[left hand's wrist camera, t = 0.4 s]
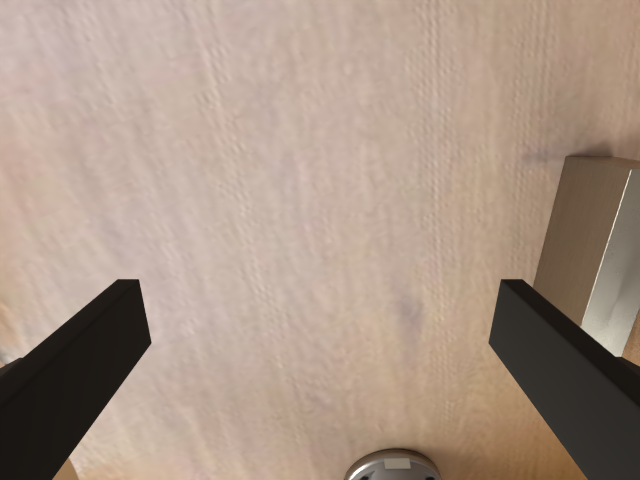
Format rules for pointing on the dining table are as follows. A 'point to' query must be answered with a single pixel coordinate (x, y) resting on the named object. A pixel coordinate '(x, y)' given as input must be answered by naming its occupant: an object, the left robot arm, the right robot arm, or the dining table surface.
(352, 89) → the dining table surface
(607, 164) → the bar
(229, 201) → the dining table surface
